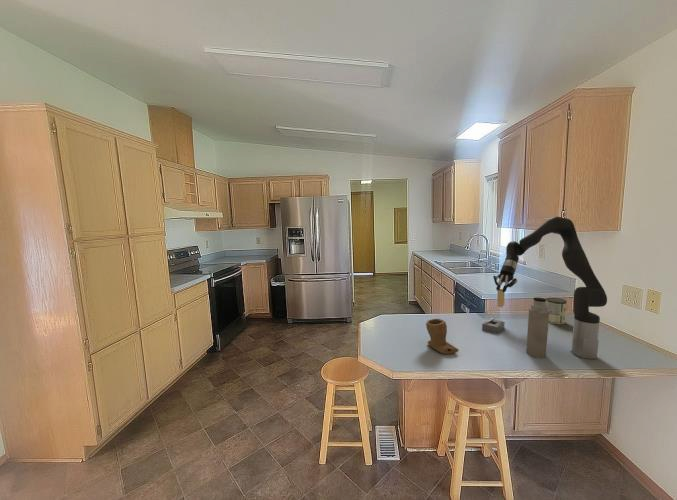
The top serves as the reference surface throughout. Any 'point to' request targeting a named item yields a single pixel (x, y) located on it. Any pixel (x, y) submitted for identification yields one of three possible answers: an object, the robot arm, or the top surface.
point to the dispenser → (493, 325)
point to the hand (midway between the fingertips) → (500, 291)
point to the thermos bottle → (537, 328)
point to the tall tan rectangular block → (500, 298)
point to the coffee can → (556, 310)
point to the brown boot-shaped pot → (439, 336)
